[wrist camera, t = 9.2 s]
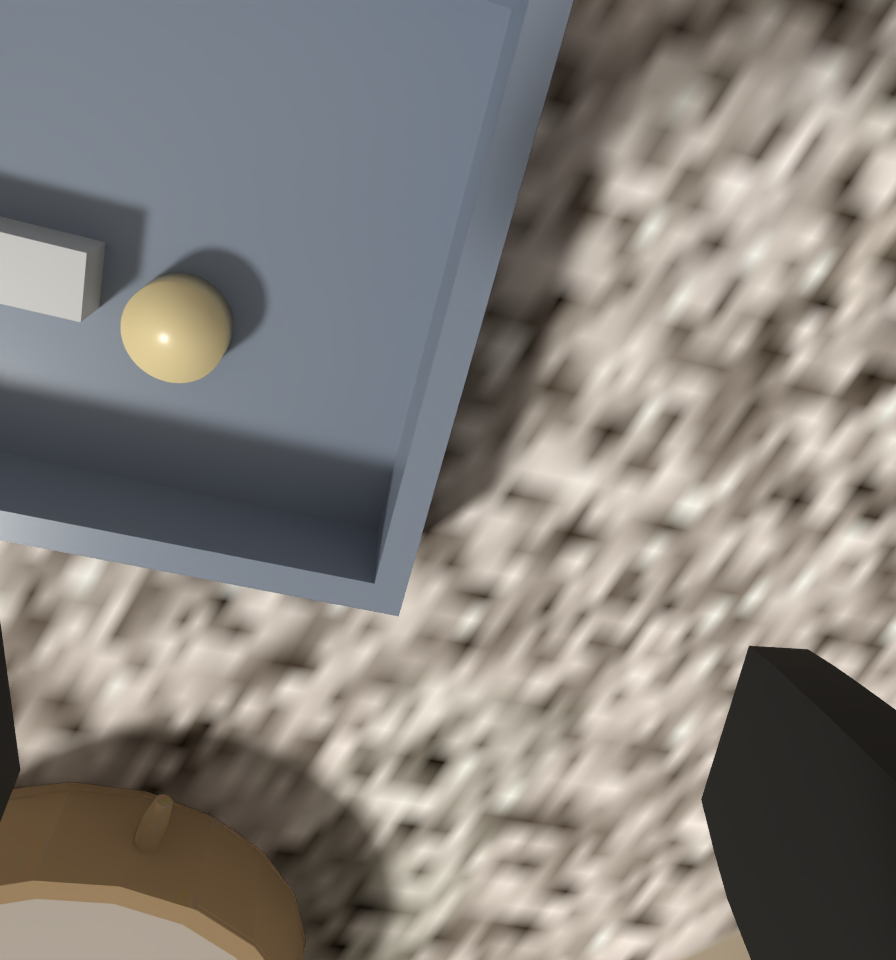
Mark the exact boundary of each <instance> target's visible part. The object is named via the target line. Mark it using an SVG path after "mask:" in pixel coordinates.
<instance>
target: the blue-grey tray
mask: <svg viewBox="0 0 896 960" xmlns="http://www.w3.org/2000/svg"><path fill="white" fill-rule="evenodd" d="M573 1H574V0H0V540H2V541H7V542H13V543H18V544H23V545H28V546H34V547H39V548H44V549H49V550H54V551H60V552H65V553H70V554H75V555H81V556H86V557H91V558H96V559H102V560H107V561H112V562H117V563H123V564H128V565H133V566H138V567H144V568H149V569H154V570H159V571H165V572H170V573H175V574H180V575H185V576H191V577H196V578H201V579H206V580H212V581H217V582H222V583H227V584H233V585H238V586H243V587H248V588H254V589H259V590H264V591H269V592H275V593H280V594H285V595H290V596H295V597H301V598H306V599H311V600H316V601H322V602H327V603H332V604H337V605H343V606H348V607H353V608H358V609H364V610H369V611H374V612H379V613H385V614H390V615H395V616H399V613H400V609H401V606H402V602H403V599H404V595H405V592H406V588H407V585H408V581H409V578H410V574H411V571H412V567H413V564H414V560H415V557H416V553H417V550H418V546H419V543H420V539H421V535H422V532H423V528H424V525H425V521H426V518H427V514H428V511H429V507H430V504H431V500H432V497H433V493H434V490H435V486H436V483H437V479H438V476H439V472H440V469H441V465H442V462H443V458H444V455H445V451H446V448H447V444H448V441H449V437H450V433H451V430H452V426H453V423H454V419H455V416H456V412H457V409H458V405H459V402H460V398H461V395H462V391H463V388H464V384H465V381H466V377H467V374H468V370H469V367H470V363H471V360H472V356H473V353H474V349H475V346H476V342H477V339H478V335H479V331H480V328H481V324H482V321H483V317H484V314H485V310H486V307H487V303H488V300H489V296H490V293H491V289H492V286H493V282H494V279H495V275H496V272H497V268H498V265H499V261H500V258H501V254H502V251H503V247H504V244H505V240H506V237H507V233H508V229H509V226H510V222H511V219H512V215H513V212H514V208H515V205H516V201H517V198H518V194H519V191H520V187H521V184H522V180H523V177H524V173H525V170H526V166H527V163H528V159H529V156H530V152H531V149H532V145H533V142H534V138H535V135H536V131H537V127H538V124H539V120H540V117H541V113H542V110H543V106H544V103H545V99H546V96H547V92H548V89H549V85H550V82H551V78H552V75H553V71H554V68H555V64H556V61H557V57H558V54H559V50H560V47H561V43H562V40H563V36H564V33H565V29H566V25H567V22H568V18H569V15H570V11H571V8H572V4H573Z"/></svg>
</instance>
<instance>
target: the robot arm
mask: <svg viewBox="0 0 896 960" xmlns="http://www.w3.org/2000/svg"><path fill="white" fill-rule="evenodd" d="M19 772H20V764H19V757H18V749H17V742H16V735H15V727H14V720H13V712H12V705H11V698H10V690H9V683H8V676H7V668H6V661H5V653H4V646H3V639H2V631H1V624H0V822H1V819H2V816H3V814H4V811H5V809H6V806H7V803H8V801H9V798H10V795H11V793H12V790H13V788H14V785H15V782H16V780H17V777H18V775H19ZM701 800H702V804H703V808H704V812H705V816H706V820H707V824H708V828H709V832H710V836H711V840H712V845H713V849H714V853H715V856H716V860H717V863H718V867H719V871H720V874H721V878H722V881H723V885H724V888H725V892H726V896H727V899H728V902H729V904H730V907H731V909H732V912H733V915H734V917H735V920H736V923H737V925H738V928H739V930H740V933H741V935H742V938H743V940H744V943H745V945H746V948H747V950H748V953H749V955H750V958H751V960H896V710H895V709H894V708H892V707H891V706H890V705H888V704H887V703H885V702H884V701H883V700H881V699H880V698H879V697H877V696H876V695H874V694H873V693H872V692H870V691H869V690H868V689H866V688H865V687H863V686H862V685H861V684H859V683H858V682H856V681H855V680H854V679H852V678H851V677H849V676H848V675H846V674H845V673H844V672H842V671H841V670H839V669H838V668H836V667H835V666H833V665H832V664H830V663H829V662H827V661H826V660H824V659H822V658H821V657H819V656H818V655H816V654H814V653H813V652H811V651H809V650H808V649H792V648H776V647H759V646H749V648H748V651H747V654H746V657H745V661H744V664H743V667H742V670H741V674H740V677H739V680H738V683H737V686H736V690H735V693H734V696H733V699H732V703H731V706H730V709H729V712H728V715H727V719H726V722H725V725H724V728H723V732H722V735H721V738H720V741H719V744H718V748H717V751H716V754H715V757H714V761H713V764H712V767H711V770H710V773H709V777H708V780H707V783H706V786H705V789H704V793H703V796H702V799H701Z"/></svg>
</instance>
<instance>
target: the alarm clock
mask: <svg viewBox="0 0 896 960" xmlns="http://www.w3.org/2000/svg"><path fill="white" fill-rule="evenodd" d="M305 941H306V939H305V934H304V930H303V926H302V922H301V917H300V913H299V909H298V904H297V900H296V896H295V894H294V892H293V891H292V890H291V888H290V887H289V886H288V884H287V883H286V882H285V880H284V879H283V878H282V876H281V875H280V873H279V872H278V871H277V869H276V868H275V867H274V865H273V864H272V863H271V861H270V860H269V859H268V857H267V856H266V854H265V853H264V852H263V851H261V850H260V849H258V848H257V847H256V846H254V845H253V844H251V843H250V842H249V841H247V840H246V839H244V838H243V837H242V836H240V835H239V834H237V833H236V832H234V831H233V830H232V829H230V828H229V827H227V826H226V825H225V824H223V823H222V822H220V821H219V820H217V819H216V818H215V817H213V816H211V815H208V814H205V813H203V812H200V811H197V810H195V809H192V808H189V807H187V806H184V805H181V804H179V803H176V802H173V800H172V798H171V797H169V796H168V795H164V794H161V795H158V796H157V795H155V794H152V793H149V792H146V791H139V790H131V789H123V788H116V787H108V786H100V785H92V784H85V783H77V782H67V783H57V784H48V785H38V786H28V787H22V788H15V789H13V790H12V793H11V795H10V798H9V801H8V803H7V806H6V809H5V811H4V814H3V816H2V819H1V822H0V960H303V952H304V947H305Z"/></svg>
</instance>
